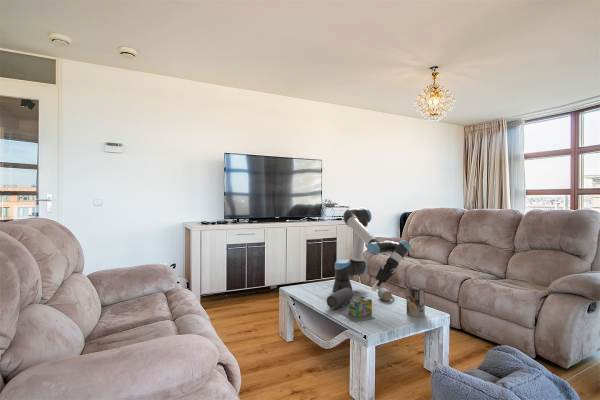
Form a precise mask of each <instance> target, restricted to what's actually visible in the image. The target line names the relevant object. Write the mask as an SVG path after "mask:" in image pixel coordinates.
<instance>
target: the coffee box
mask: <svg viewBox="0 0 600 400" xmlns="http://www.w3.org/2000/svg"><path fill="white" fill-rule="evenodd" d="M405 293H406V294H405V295H406V315H409V316H413V317H416V318H423V317H424V316H426V313H425V311H426V309H425V289H424V288H421V287H416V286H408V287H406V289H405Z"/></svg>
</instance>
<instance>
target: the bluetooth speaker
mask: <svg viewBox="0 0 600 400" xmlns="http://www.w3.org/2000/svg"><path fill="white" fill-rule="evenodd" d="M353 298H354V292H353V289H352V290H351V289H350V288H344V289H341V290H339V291H337V292H333V293H331V294H330V295H329V296H328V297H327V298H326V305H327V306H328V307H329V308H330V309H337V308H338V309H339V308H342V307H344V306H345V305H346V304H347V303H348V299H353Z"/></svg>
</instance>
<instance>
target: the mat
mask: <svg viewBox="0 0 600 400" xmlns="http://www.w3.org/2000/svg"><path fill="white" fill-rule="evenodd" d="M336 312H337V313H339V314H340V315H342V316H344V317H346V318H348V319H349V320H351V321H352V322H354V323H357V322H363V321H367V320H373V319H375V316H372V314H371V315H367V316H363V317H359V318H357V317H355V316H353V315H350V314H348V308H347V309H341V310H340V309H339V310H337V311H336Z"/></svg>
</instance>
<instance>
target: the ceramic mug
mask: <svg viewBox="0 0 600 400" xmlns="http://www.w3.org/2000/svg"><path fill="white" fill-rule="evenodd" d="M377 296H378V298H379V299H381V300H383V301H384V302H389V301H391V300H395V297H394V296H393V295H392V292H391V291H389V290H388V289H387V288H385V287H380V288H378V289H377Z"/></svg>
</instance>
